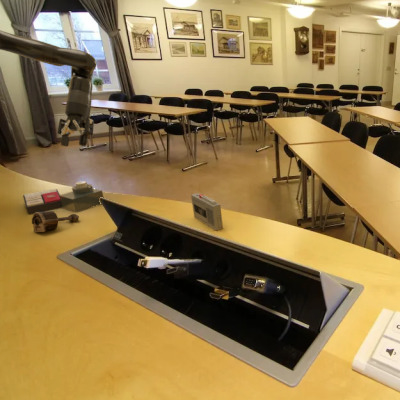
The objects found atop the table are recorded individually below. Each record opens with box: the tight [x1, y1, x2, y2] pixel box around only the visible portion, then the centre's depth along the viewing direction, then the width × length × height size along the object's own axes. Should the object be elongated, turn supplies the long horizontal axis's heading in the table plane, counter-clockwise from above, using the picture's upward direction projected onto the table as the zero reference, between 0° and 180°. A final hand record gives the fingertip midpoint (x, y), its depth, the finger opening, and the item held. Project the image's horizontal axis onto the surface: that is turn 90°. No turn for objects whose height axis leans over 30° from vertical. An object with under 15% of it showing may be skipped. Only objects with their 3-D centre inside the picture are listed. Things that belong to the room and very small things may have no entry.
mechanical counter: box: [31, 210, 80, 233], centre depth 109 cm, size 7×13×10 cm
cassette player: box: [190, 192, 224, 232], centre depth 113 cm, size 16×3×10 cm, turn 47°
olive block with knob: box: [59, 183, 105, 214], centre depth 127 cm, size 11×9×8 cm
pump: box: [75, 180, 88, 188], centre depth 127 cm, size 4×4×2 cm
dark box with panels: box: [22, 188, 63, 215], centre depth 127 cm, size 11×4×15 cm
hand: (73, 145), depth 121 cm, fingers open, 8 cm apart
